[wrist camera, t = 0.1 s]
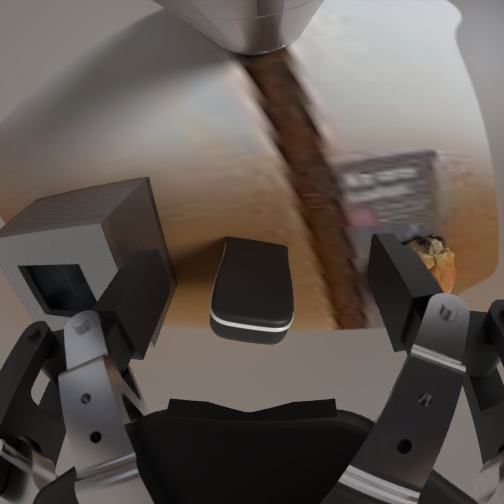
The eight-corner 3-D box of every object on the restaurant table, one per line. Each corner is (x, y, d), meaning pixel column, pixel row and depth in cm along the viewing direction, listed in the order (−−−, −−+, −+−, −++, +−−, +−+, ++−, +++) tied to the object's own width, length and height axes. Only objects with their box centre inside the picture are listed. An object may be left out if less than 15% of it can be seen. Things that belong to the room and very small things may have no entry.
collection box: (36, 199, 28) (-12, 240, 20) (148, 176, 27) (100, 223, 18) (72, 283, 36) (40, 330, 28) (177, 284, 34) (154, 347, 26)
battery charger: (222, 263, 32) (204, 342, 23) (225, 234, 30) (205, 312, 20) (282, 272, 32) (286, 354, 23) (290, 244, 30) (297, 325, 21)
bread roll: (366, 251, 34) (362, 307, 30) (427, 214, 26) (436, 277, 22) (410, 281, 37) (410, 331, 32) (466, 253, 28) (474, 309, 24)
